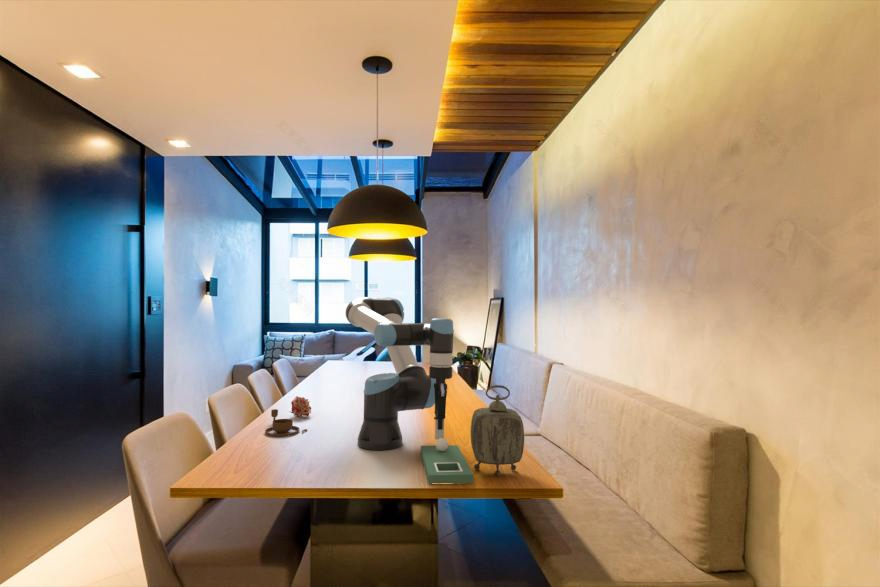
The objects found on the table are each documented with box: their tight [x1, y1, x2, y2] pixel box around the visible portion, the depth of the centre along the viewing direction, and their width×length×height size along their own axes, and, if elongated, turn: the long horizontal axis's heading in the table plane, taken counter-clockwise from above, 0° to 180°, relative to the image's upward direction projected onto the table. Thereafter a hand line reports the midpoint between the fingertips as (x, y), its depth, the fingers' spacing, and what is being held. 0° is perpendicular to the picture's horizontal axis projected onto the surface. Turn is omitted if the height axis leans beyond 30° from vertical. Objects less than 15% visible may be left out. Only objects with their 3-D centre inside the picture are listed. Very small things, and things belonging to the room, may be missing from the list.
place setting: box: [264, 408, 308, 438], centre depth 171 cm, size 18×20×6 cm
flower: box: [288, 396, 312, 419], centre depth 192 cm, size 10×9×8 cm
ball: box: [434, 437, 449, 452], centre depth 142 cm, size 4×4×4 cm
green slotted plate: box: [420, 444, 474, 484], centre depth 134 cm, size 12×26×2 cm, turn 7°
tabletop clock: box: [470, 384, 525, 477], centre depth 131 cm, size 14×9×25 cm, turn 91°
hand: (439, 438), depth 148 cm, fingers closed
